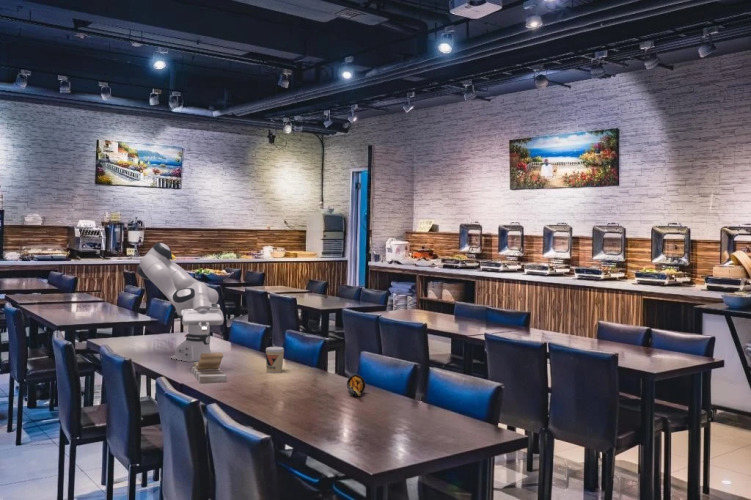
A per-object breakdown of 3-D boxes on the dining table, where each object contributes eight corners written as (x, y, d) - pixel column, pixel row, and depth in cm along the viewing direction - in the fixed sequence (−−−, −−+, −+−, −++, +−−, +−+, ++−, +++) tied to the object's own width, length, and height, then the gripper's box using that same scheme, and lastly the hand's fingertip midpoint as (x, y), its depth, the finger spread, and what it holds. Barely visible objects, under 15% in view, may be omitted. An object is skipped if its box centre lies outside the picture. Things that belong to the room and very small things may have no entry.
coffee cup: (261, 372, 348) (261, 348, 348) (272, 369, 356) (272, 346, 356) (276, 374, 343) (277, 350, 343) (287, 371, 352) (287, 347, 351)
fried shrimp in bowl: (363, 380, 314) (378, 375, 299) (356, 403, 310) (371, 399, 294) (345, 373, 312) (359, 367, 296) (338, 396, 308) (352, 392, 292)
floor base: (191, 371, 343) (191, 361, 342) (215, 370, 347) (215, 360, 347) (200, 383, 318) (200, 372, 318) (226, 381, 323) (226, 371, 323)
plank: (197, 370, 331) (197, 366, 332) (218, 369, 335) (218, 365, 337) (201, 357, 322) (201, 353, 323) (223, 356, 326) (222, 352, 327)
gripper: (181, 305, 342) (183, 327, 333) (222, 304, 349) (225, 326, 341) (180, 313, 346) (181, 335, 337) (221, 312, 354) (223, 334, 345)
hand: (204, 330), depth 339 cm, fingers closed
